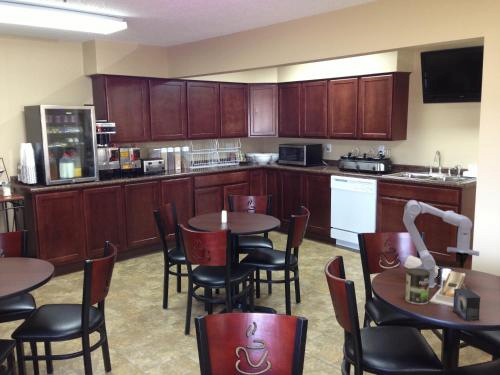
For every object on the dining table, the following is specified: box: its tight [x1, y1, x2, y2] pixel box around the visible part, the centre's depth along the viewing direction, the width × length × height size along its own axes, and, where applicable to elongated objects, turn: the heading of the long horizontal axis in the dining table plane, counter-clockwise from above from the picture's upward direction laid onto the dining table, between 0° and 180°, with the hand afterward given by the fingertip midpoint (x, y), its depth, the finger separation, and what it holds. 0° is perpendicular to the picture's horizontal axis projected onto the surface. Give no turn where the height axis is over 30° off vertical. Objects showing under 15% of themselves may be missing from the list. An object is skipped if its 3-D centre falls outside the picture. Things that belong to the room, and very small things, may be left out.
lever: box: [442, 270, 466, 295], centre depth 222 cm, size 7×17×5 cm, turn 144°
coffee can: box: [404, 268, 430, 306], centre depth 214 cm, size 10×10×14 cm
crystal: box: [404, 254, 440, 279], centre depth 255 cm, size 7×7×24 cm
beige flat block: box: [435, 290, 454, 303], centre depth 215 cm, size 9×8×2 cm
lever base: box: [429, 279, 466, 308], centre depth 219 cm, size 13×25×6 cm, turn 144°
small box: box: [452, 287, 481, 322], centre depth 198 cm, size 11×6×10 cm, turn 5°
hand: (461, 267), depth 230 cm, fingers closed
